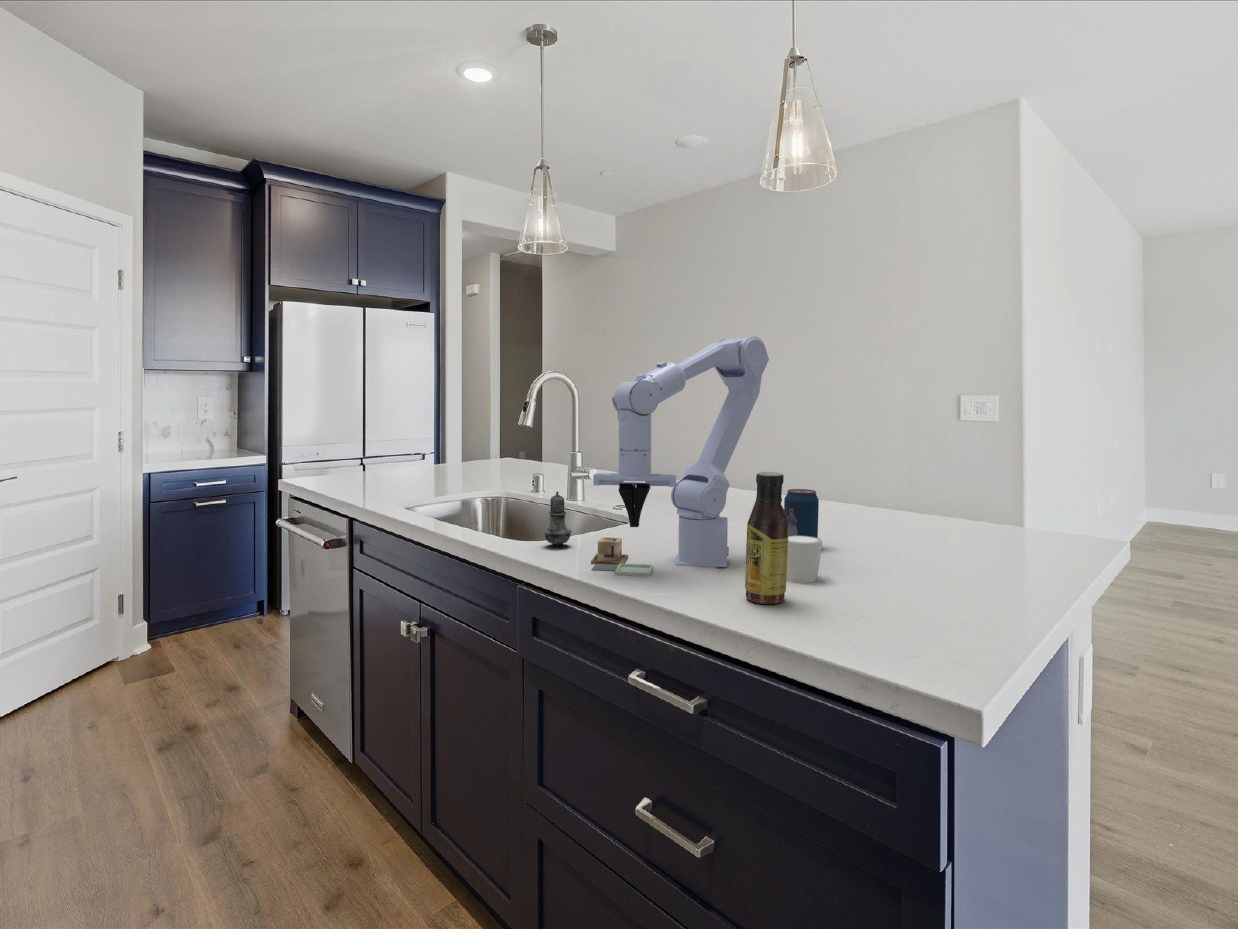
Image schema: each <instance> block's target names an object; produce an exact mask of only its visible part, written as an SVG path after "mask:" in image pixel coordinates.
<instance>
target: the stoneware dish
mask: <svg viewBox="0 0 1238 929" xmlns="http://www.w3.org/2000/svg"><path fill="white" fill-rule="evenodd" d="M653 569H654V564H650V563H647V564H646V563H645V564H643V563H625V564H623V563H619V565H618V567H617V569H616V571H614V575H615V576H630V577H631V576H633V577H634V576H635V577H651V575H652V572H653Z"/></svg>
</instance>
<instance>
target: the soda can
mask: <svg viewBox="0 0 1238 929" xmlns="http://www.w3.org/2000/svg"><path fill="white" fill-rule="evenodd" d="M783 500H784V503H783V505H784V506H783V509H784V510H785V512H786V514H787V517H788V536H810V537H816V538H819V537H818V536H819V509H820V508H819V506H820V504H819V503H820V502H819V497H818V496H817V491H816V490H813V489H809V488H808V489H806V488H792V489H788V490H787V493H786V495H785V497H784V499H783Z"/></svg>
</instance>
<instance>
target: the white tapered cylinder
mask: <svg viewBox="0 0 1238 929" xmlns="http://www.w3.org/2000/svg"><path fill="white" fill-rule="evenodd" d="M822 546H823V540H822V539H821V538H819V537H818V538H816V537H810V536H788V554H787V576H786V581H789V582H792V583H801V584H808V583H811V584H812V583H814V582H815V583H816V582H817V581H818V578H819V570H820V561H821V553H822V548H823V547H822Z"/></svg>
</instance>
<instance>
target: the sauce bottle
mask: <svg viewBox="0 0 1238 929" xmlns="http://www.w3.org/2000/svg"><path fill="white" fill-rule="evenodd" d="M784 481H785V480H784V474H783V473H782V472H777V471H776V472H775V471H760V472H757V473H756V478H755V482H756V498H755V501H754V504H753V507H752V510H751V512H750V515H749V519H748V520H747V524H746V544H745V545H746V547H745V553H746V554H745V574H744V576H745V577H744V580H745V583H744V587H745V597H746V599H747V600H748V601H751V602H754V603H755V604H760V605H761V604H762V605H763V604H764V605H773V604H776V605H778V604H781V603H783V602H784V600H785V596H786V595H785V593H786V592H787V591H786V590H787V580H786V576H787V554H788V517H787V514H786V512H785V510H784V506H783V505H782V501H783V498H782V495H783V493H782V492H783V487H782V486H783V484H784V483H785V482H784Z"/></svg>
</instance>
